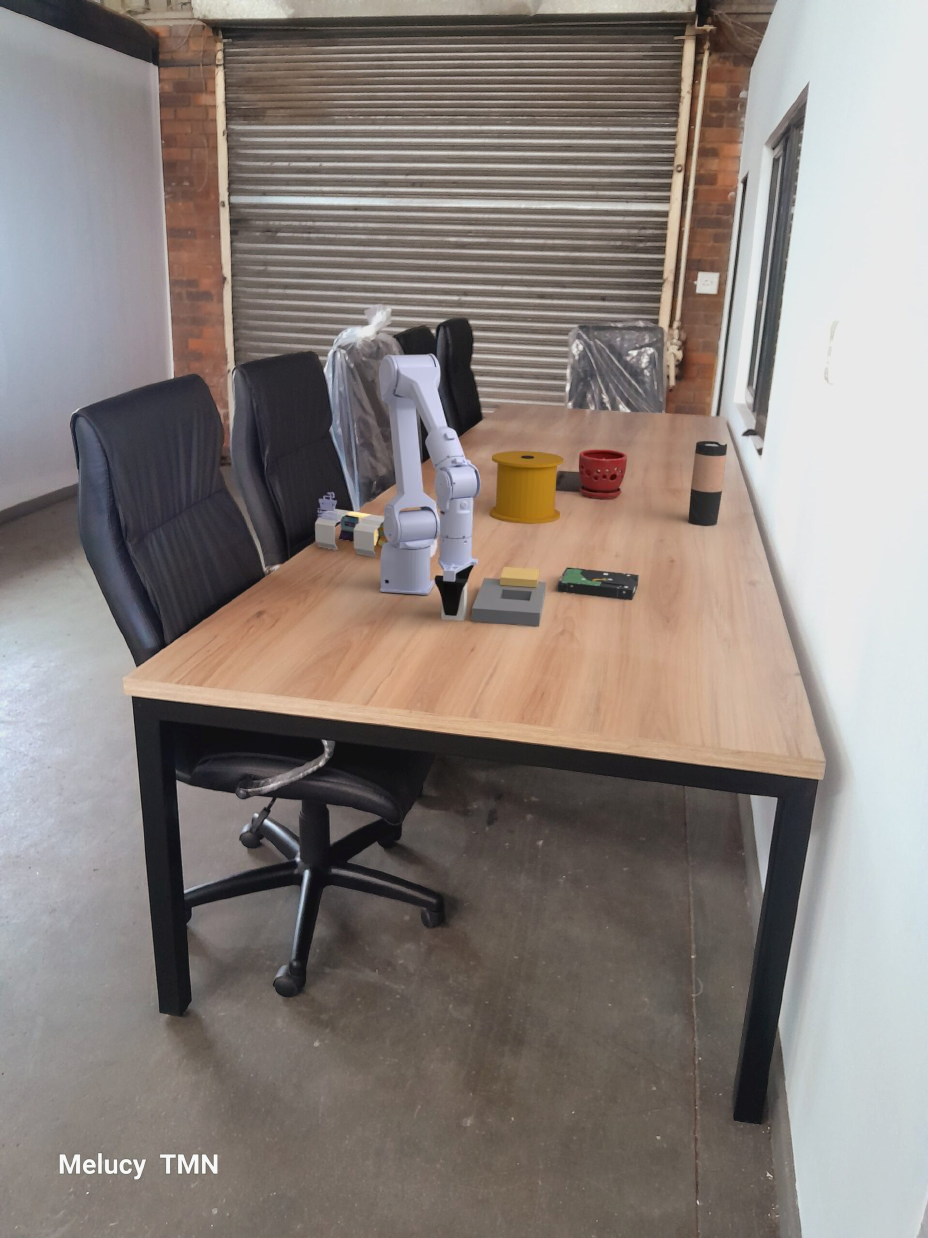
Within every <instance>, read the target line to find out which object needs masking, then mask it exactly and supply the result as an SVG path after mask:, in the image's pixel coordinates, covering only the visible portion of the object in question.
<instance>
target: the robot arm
mask: <svg viewBox="0 0 928 1238" xmlns="http://www.w3.org/2000/svg"><path fill="white" fill-rule="evenodd" d="M378 378H379V379H378V380H379V391H380V395H381V401H382V402H383V403H384V404H386V405H387V406H388V411H389V423H390V434H391V444H392V454H393V463H394V472H395V473H394V475H395V476H394V477H395V484H396V485H395V487H396V494H395V495H394V496H393V497H392V498H391V499H390V500H389V501H387V502H386V504H385V505H384V507H383V509H384V510H383V513H384V515H383V516H384V522H383V529H384V534H385V537H386V539H387V540H388V542H389V543H384V544H383V546H382V548H381V552H380V588H379V592H383V593H395V594H408V595H409V594H410V595H423V596H428V595H430V592H431V591H432V588H433V587H434V585H435V586H436V587H437V590H438V591H439V594H440V598H441V605H442V604H443V609H444V613H445V615H449V616H456V615H457V613H458V609H459V604H460V598H461V594H462V591H463V588H464V586H465V584H466V582H467V583H468V581H469V579H470V575H471V572H472V570H473V569H474V566H477V565H478V564H479V559H478V558H474V557H472V555H473V554H472V553H473V551H472V550H473V524H474V522H473V521H474V519H473V518H474V499H475V498H477V497H479V494H480V491H481V484H482V483H481V477H480V473H479V469H478V467H476V466H475V464H473V463H472V462H471V460H470V459H467V457H466V456H465V453H464V450H463V447H462V445H461V441H460V440H459V437H458V434H457V431H456V430H455V429H453V428H451V427H449V426H448V423H447V421H446V420H447V419H446V416H445V413H444V409H443V405H442V401H441V399H440V398H441V397H440V394H439V390H438V389H439V386H440V382H441V366H440V363H439V360H438V359H437V356H435V355H434V354H433V353H427V354H397V355H396V354H393V355H392V354H385V355H384V357H383V358H382V359H381V362H380V365H379V368H378ZM416 410H417V411H416ZM417 412H418V414H419V417H420V419H421V420H422V423H423V425H424V427H425V430H426V432H427V434H428V435H427V437H426V439H425V442H424V443H425V446H426V449H427V451H428V454H429V457H430V460H431V464H432V465H433V468H434V472H435V477H434V480H433V484H434V487H433V488H434V493H435V496H436V501H437V502H436V501H435V500H434V499H433V498H432V497H430V496H429V495H427V494H426V493H425V492H424V485H423V476H422V475H423V474H422V473H423V472H422V463H421V455H420V454H421V452H420V443H419V442H420V441H419V433H418V418H417ZM413 508H418V509H413ZM437 508H438V509H437ZM404 509H410V510H404ZM438 510H439V513H440V514H439V513H438ZM437 537H438V538H439V544H438V545H439V546H438V547H439V549H438V551H439V553H438V555H439V556H438V558H437V564H438V565H439V567H440V569H442V573H443V574H442V575H438V574H436V575H435V576H434V579H433V580H431V557H430V550H431V545H434V540H436V539H437ZM437 540H438V539H437Z"/></svg>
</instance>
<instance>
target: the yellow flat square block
mask: <svg viewBox="0 0 928 1238" xmlns="http://www.w3.org/2000/svg"><path fill="white" fill-rule="evenodd" d="M539 578H540V568H529V567H527V568H525V567H512V566H511V567H510V566H504V567H503V569H502V571H501V573H500V577H499V579H500V585H507V586H522V587H536V588H537V584H538V582H539Z"/></svg>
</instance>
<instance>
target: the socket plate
mask: <svg viewBox="0 0 928 1238" xmlns="http://www.w3.org/2000/svg"><path fill="white" fill-rule="evenodd" d="M546 584H547V582H546V581H538V584H537V588H536V587H522V586H507V585H500V578H495V577H493V578H491V577H484V578H483V580H482V583H481V585H480V586H479V590H478V592H477V596H476V598H475V600H474V603H473V605H472V608H471V622H474V623H475V622H476V623H489V624H502V625H503V624H504V625H512V626H513V625H514V626H529V627H540V623H541V618H542V613H543V608H544V603H545V602H544V601H545V597H546V587H547V585H546Z"/></svg>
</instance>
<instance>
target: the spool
mask: <svg viewBox="0 0 928 1238" xmlns="http://www.w3.org/2000/svg"><path fill="white" fill-rule="evenodd" d="M491 461H493V462H494V463H496V464H497V466H496V468H497V469H496V470H497V471H496V490H495V491H496V495H495V496H496V497H495V506H493V507H491V508H490V510H489V515H490V516H491V517H493V518H495V519H496V520H499V521H505V522H508V523H514V524H515V523H516V524H544V523H545V524H546V523H550V522H554V521H557V520H559V519H560V518H561V512H560V511H559V510H558V509H556V508H555V505H556V488H557V471H558V466H560V465H563V463H564V457H563V456H561V455H558V454H553V453H549V452H542V451H531V450H530V451H529V450H513V451H512V450H511V451H502V452H497V453H494V454H492V455H491Z"/></svg>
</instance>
